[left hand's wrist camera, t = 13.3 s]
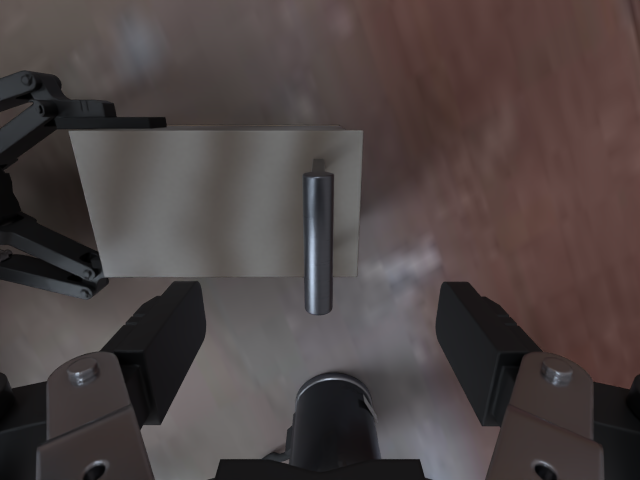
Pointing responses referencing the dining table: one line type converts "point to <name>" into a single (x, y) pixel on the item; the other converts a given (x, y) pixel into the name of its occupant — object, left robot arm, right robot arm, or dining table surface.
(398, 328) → the dining table surface
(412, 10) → the dining table surface
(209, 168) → the panel with bar handle
